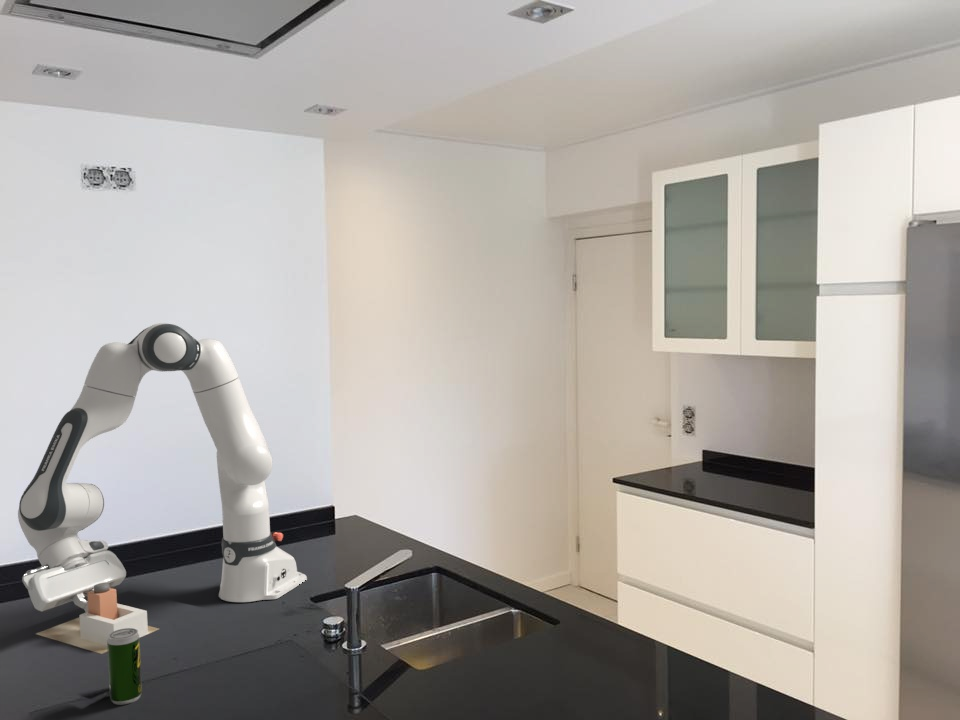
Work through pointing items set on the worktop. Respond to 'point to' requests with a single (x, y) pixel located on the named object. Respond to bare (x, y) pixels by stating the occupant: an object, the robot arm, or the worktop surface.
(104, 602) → the plug
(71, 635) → the base board
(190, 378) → the robot arm
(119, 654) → the beer can
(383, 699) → the worktop surface
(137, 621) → the socket
